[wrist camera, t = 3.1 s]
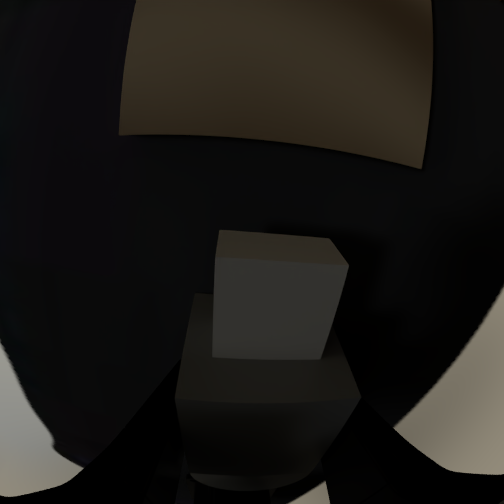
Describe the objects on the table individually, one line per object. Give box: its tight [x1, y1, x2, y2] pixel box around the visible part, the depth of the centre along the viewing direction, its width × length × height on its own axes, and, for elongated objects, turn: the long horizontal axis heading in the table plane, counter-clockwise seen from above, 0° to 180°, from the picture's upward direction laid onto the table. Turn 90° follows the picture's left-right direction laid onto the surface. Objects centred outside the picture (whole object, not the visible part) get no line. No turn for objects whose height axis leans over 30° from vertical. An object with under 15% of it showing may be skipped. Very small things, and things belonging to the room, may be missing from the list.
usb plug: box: [175, 230, 361, 491], centre depth 8 cm, size 9×4×4 cm, turn 174°
